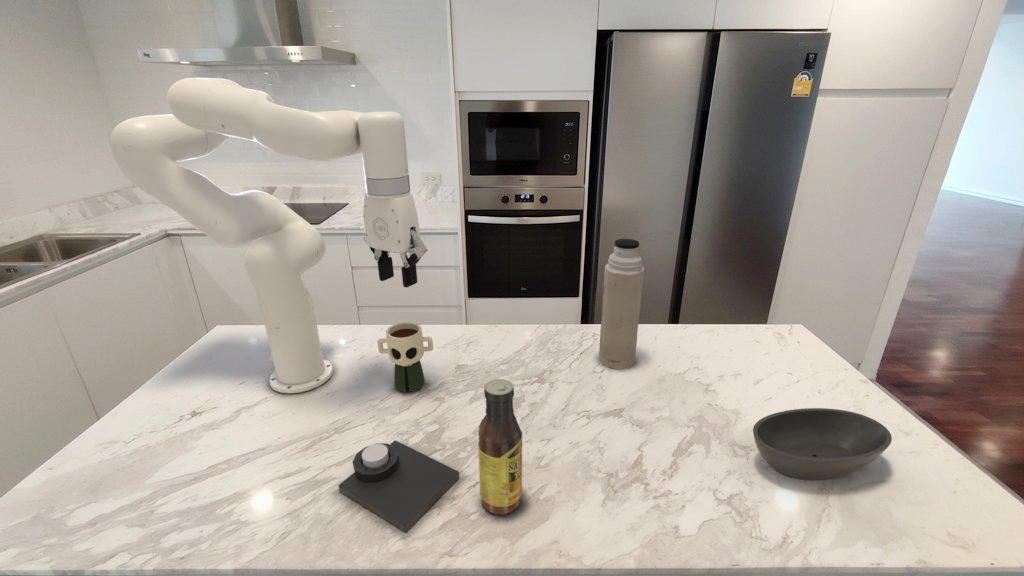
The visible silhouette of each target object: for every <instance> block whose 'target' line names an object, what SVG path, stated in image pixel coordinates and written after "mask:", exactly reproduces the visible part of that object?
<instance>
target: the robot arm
mask: <svg viewBox="0 0 1024 576" xmlns="http://www.w3.org/2000/svg"><path fill="white" fill-rule="evenodd" d="M166 104H167V107H168V109H169V111H170V114H168V113H167V114H150V115H142V116H136V117H131V118H128V119H125V120H123V121H122V122H120V123H118V124H117V125H116V126H115V127H114V128H113V130H112V132H111V134H110V146H111V152H112V155H113V158H114V160H115V162H116V164H117V165H118V167H119V169H120V171H121V172H122V173H123V174H124V175H125V177H126V178H127V179H128V180H129V181H130V182H131V183H132V184H134V185H135V186H136V187H137V188H139V189H140V191H143V192H144V193H146V194H147V195H149V196H150V197H152V198H154V199H156V200H157V201H159V202H161V203H162V204H163V205H165V206H167V207H168V208H170V209H171V210H172V211H174V212H175V213H177V214H178V215H179V216H180V217H181V218H182V219H184V220H185V221H187V222H188V223H189V224H191V225H192V226H194V227H195V228H196V229H197V230H199V231H200V232H201V233H203V234H204V235H206V236H207V237H208V238H210V239H211V240H212V241H214V242H216V243H217V244H218V245H219V246H222V247H224V248H227V249H236V248H240V247H243V246H245V245H248V244H250V243H252V245H250V246H249V248H248V249H247V251H246V253H245V255H244V260H243V262H244V269H245V272H246V274H247V276H248V278H249V280H250V283H251V285H252V287H253V289H254V292H255V294H256V297H257V301H258V304H259V308H260V313H261V316H262V320H263V323H264V324H263V325H264V328H265V333H266V336H267V341H268V345H269V349H270V353H271V354H270V356H269V359H268V361H270V362H272V363H273V366H274V370H273V372H272V373H271V374H270V376H269V380H268V382H269V385H270V388H271V389H272V390H274V391H276V392H278V393H282V394H298V393H304V392H308V391H311V390H313V389H317V388H318V387H320V386H323V384H325V383H326V382H328V381H329V379H331V378H332V376H333V373H334V368H333V367H334V366H333V364H332V363H331V361H329V360H328V359H325V358H324V355H323V351H322V346H321V341H320V334H319V329H318V323H317V319H316V313H315V308H314V303H313V299H312V296H311V293H310V291H309V289H308V287H307V286H306V284H305V283H304V282H303V279H302V275H303V274H304V273H306V272H307V271H308V270H310V269H311V268H313V267H314V266H316V265H317V264H319V263H320V262H321V260H322V259H323V257H324V256H325V253H326V243H325V239H324V238H323V236H322V234H321V233H320V232H319V231H318V230H317V229H316V228H315V227H314V226H313V225H312V224H311V223H310V222H308V221H307V220H305V218H303V217H302V216H300V214H298V213H297V212H295V211H294V210H293V209H291V208H290V207H289V206H287V205H286V204H285V203H284V202H282V201H281V200H279V199H278V198H277V197H276V196H274V195H272V194H270V193H268V192H265V191H263V190H258V189H253V190H250V189H249V190H245V191H242V192H238V193H230V192H228V191H226V190H224V189H223V188H221V187H220V186H218V185H217V184H216V183H214V182H213V181H212V180H211V179H210V178H208V177H207V176H205V175H204V174H202V173H200V172H198V171H195V170H194V169H190V168H188V167H185V166H184V165H181V164H179V162H186V161H190V160H196V159H200V158H203V157H206V156H208V155H210V154H211V153H213V152H214V151H216V150H217V149H218V148H219V147H221V146H222V145H223V144H224V143H226V142H227V141H228V140H229V139H230V138H232V137H233V138H238V139H242V140H246V141H251V142H256V143H258V144H259V145H260V146H262V147H264V148H266V149H267V150H269V151H271V152H275V153H278V154H281V155H285V156H291V157H295V158H299V159H304V160H309V161H315V162H330V161H334V160H338V159H341V158H345V157H349V156H353V155H356V154H361V160H362V166H363V167H362V168H363V175H364V184H365V191H366V193H364V194H363V204H362V205H363V207H362V208H363V209H362V210H363V211H362V214H363V215H362V217H363V232H364V237H363V241H364V242H365V244H366V245H367V246H368V247H369V250H370V251H371V252H372V254H373V257H374V260H375V261H377V263H376V264H377V270H378V277H379V281H380V282H385V281H387V280H390V279H391V278H393V277H394V276H395V271H394V263H393V257H392V256H390V254H391V253H393V254H398V255H399V256H400V259H401V262H402V266H401V269H400V270H401V279H402V280H401V281H402V286H403V288H410V287H411V286H413V285H416V284H417V283H418V273H417V272H418V271H417V265H418V264H419V261H420V260H421V259H422V257H423V256H424V255H425V254H426V253H427V252H428V248H427V247H426V245H425V244H424V242H423V241H422V239H421V232H420V224H419V217H418V211H417V207H416V204H415V200H414V199H415V198H414V197H413V194H412V193H411V185H410V173H409V163H408V153H407V152H408V151H407V141H406V140H407V139H406V132H405V131H406V130H405V129H406V128H405V122H404V118H403V116H402V115H401V114H400V113H399V112H396V111H388V110H387V111H367V112H366V111H365V112H363V111H355V110H349V109H344V110H343V109H341V110H338V109H337V110H325V111H310V110H303V109H299V108H292V107H289V106H284V105H280V104H278V103H275V100H274V99H273V97H272V96H271V95H270V94H268V93H267V92H265V91H262V90H258V89H252V88H248V87H243V86H242V85H241V84H240V83H237V82H235V81H233V80H231V79H228V78H221V77H219V78H218V77H186V78H182V79H179V80H176V81H175V82H174V83H173V84H172V85H171V86H170V87H169V88H168V91H167V93H166ZM253 242H254V243H253ZM408 254H409V257H408Z"/></svg>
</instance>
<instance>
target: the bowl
mask: <svg viewBox="0 0 1024 576" xmlns="http://www.w3.org/2000/svg"><path fill="white" fill-rule="evenodd" d="M752 434H753V439H754V441H755V445H756V448H757V450H758V453H759V454H760V456H761V457H762V459H763V460H764V461H765V462H766V464H767V465H768V466H769V467H770V468H771V469H773V470H774V471H775V472H776V473H778V474H780V475H782V476H784V477H787V478H790V479H794V480H801V481H814V482H815V481H816V482H817V481H818V482H819V481H828V480H830V481H831V480H835V479H839V478H843V477H845V476H847V475H851V474H853V473H855V472H857V471H859V470H861V469H863V468H865V467H866V466H868V465H870V464H872V462H874V461H875V460H876V459H877V458H879V457H880V456H881V455H882V454H883V453H884V452H885V451H886V450H887V449H888V448H889V446H890V445H891V444H892V441H893V436H892V434H891V432H890V431H889V429H888V428H887V427H885V426H884V424H882V423H881V422H879V421H877V420H876V419H873V418H871V417H870V416H867V415H864V414H861V413H859V412H854V411H849V410H844V409H836V408H825V407H809V408H807V407H806V408H795V409H794V408H793V409H788V410H783V411H777V412H775V413H771V414H769V415H766V416H763V417H762V418H760V419H759V420H758V421H756V422H755V424H754V425H753V428H752Z"/></svg>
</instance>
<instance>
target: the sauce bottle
mask: <svg viewBox="0 0 1024 576" xmlns="http://www.w3.org/2000/svg"><path fill="white" fill-rule="evenodd" d="M483 391H484V393H483V395H484V398H485V415H484V416H483V419H481V421H480V423H479V425H478V472H479V473H478V474H479V475H478V476H479V494H480V499H481V504H482V505H483V507H484V509H485V510H486V511H488V512H489V513H491V514H494V515H499V516H500V515H502V516H503V515H507V514H511V513H512V512H514V511H515V510H516V509H517V508H518V507H519V506H520V503H521V501H522V494H523V433H522V430H521V427H520V424H519V422H518V420H517V418H516V416H515V413H514V412H515V410H514V396H515V387H514V384H513V383H512V382H511V381H509V380H508V379H505V378H496V379H495V378H494V379H492V380H490V381H488V382H486V383H485V384H484V388H483Z"/></svg>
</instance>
